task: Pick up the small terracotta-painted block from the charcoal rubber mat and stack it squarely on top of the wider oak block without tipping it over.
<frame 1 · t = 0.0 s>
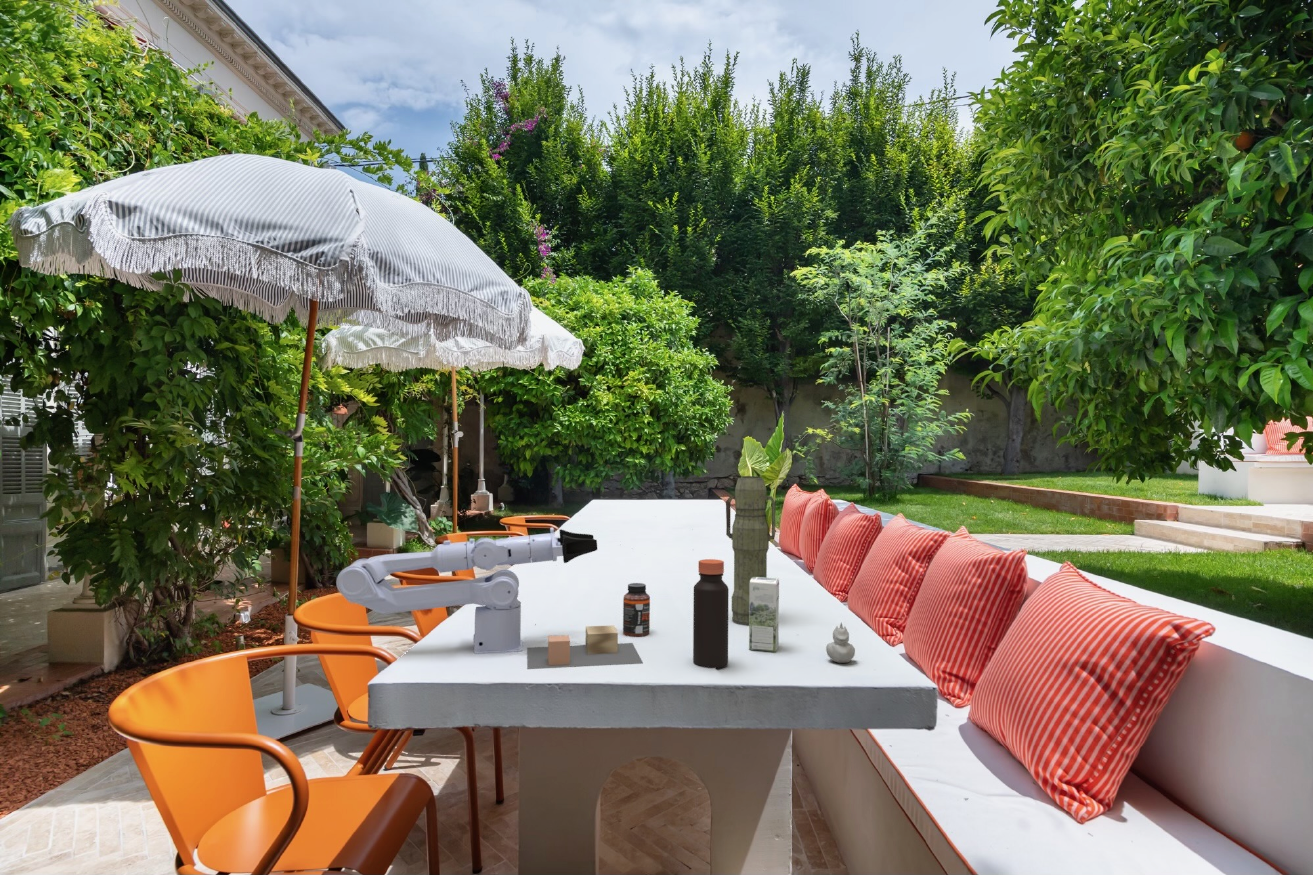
hand: (595, 542, 150), 22 cm above the table, tool horizontal, fingers open, 7 cm apart
supplement bottle: (636, 635, 157), on the table
rubber duck: (840, 662, 139), on the table
terracotta block: (558, 661, 136), resting on mat
mat: (583, 657, 140), on the table
syrup box: (764, 648, 148), on the table
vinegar: (710, 665, 136), on the table
oak block: (601, 649, 145), resting on mat
thermos: (749, 621, 170), on the table
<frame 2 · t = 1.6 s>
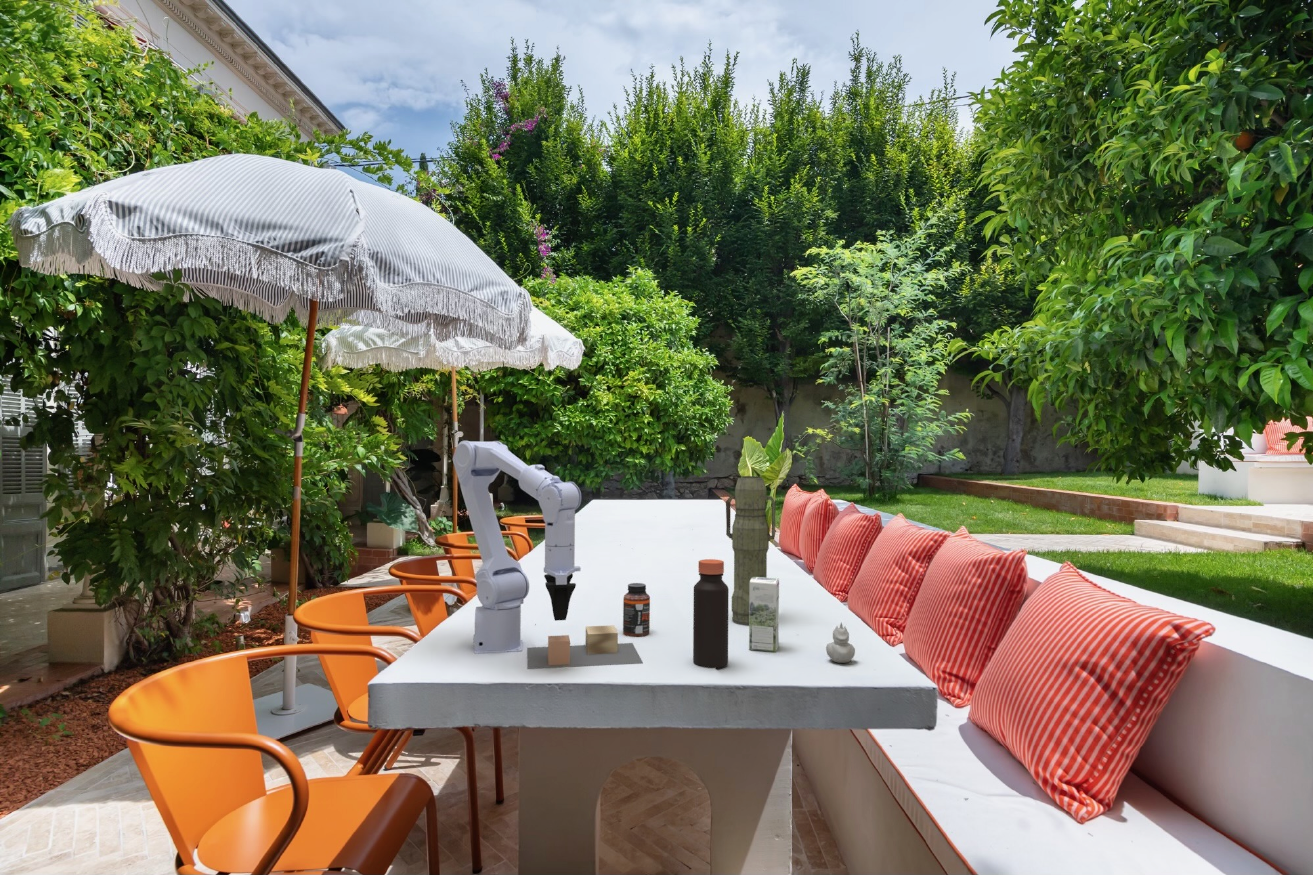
hand: (559, 615, 136), 9 cm above the table, tool pointing down, fingers open, 7 cm apart
nothing on the table moved.
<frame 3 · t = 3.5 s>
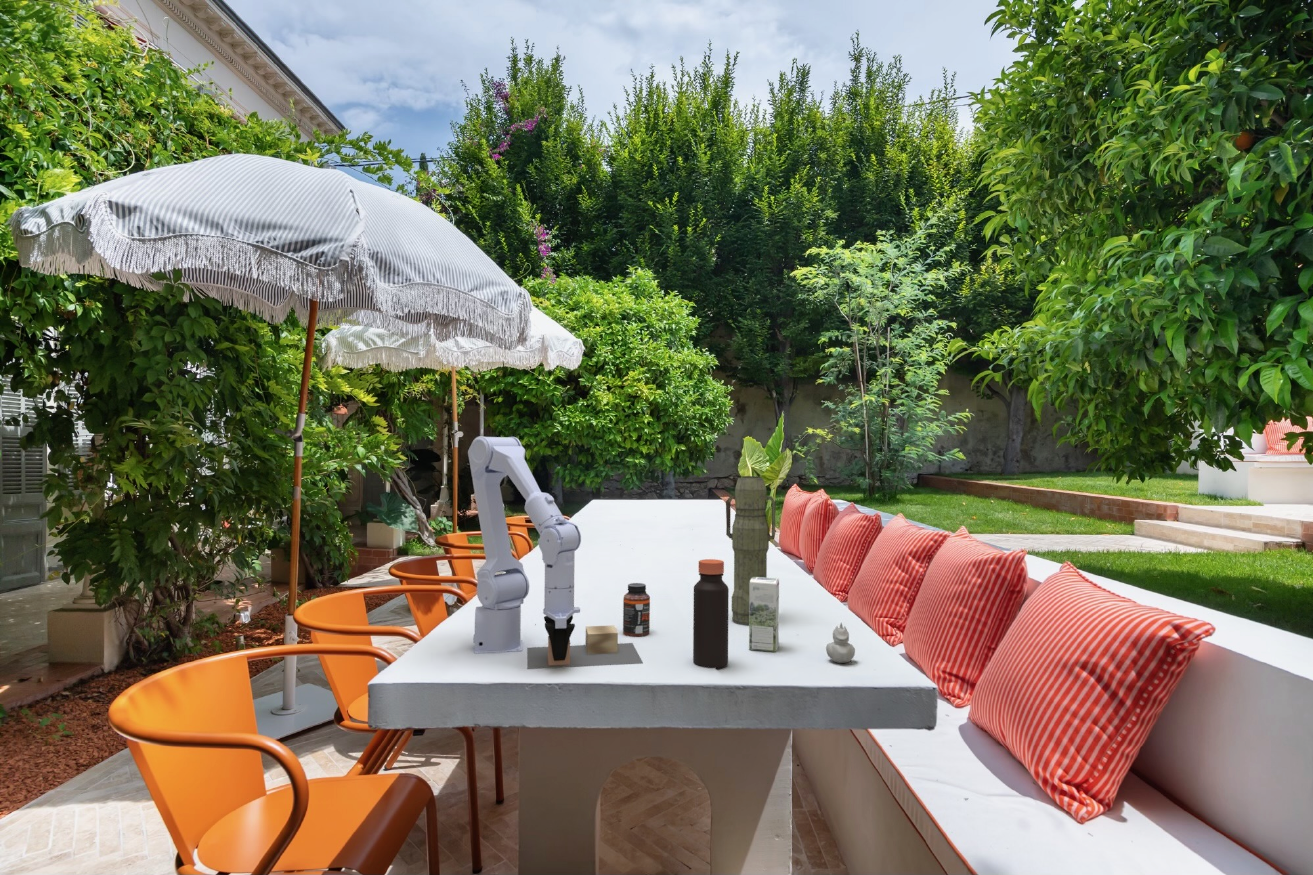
hand: (558, 656, 136), 1 cm above the table, tool pointing down, fingers closed on terracotta block, 4 cm apart
terracotta block: (558, 661, 136), resting on mat, touching gripper
everything else where it was.
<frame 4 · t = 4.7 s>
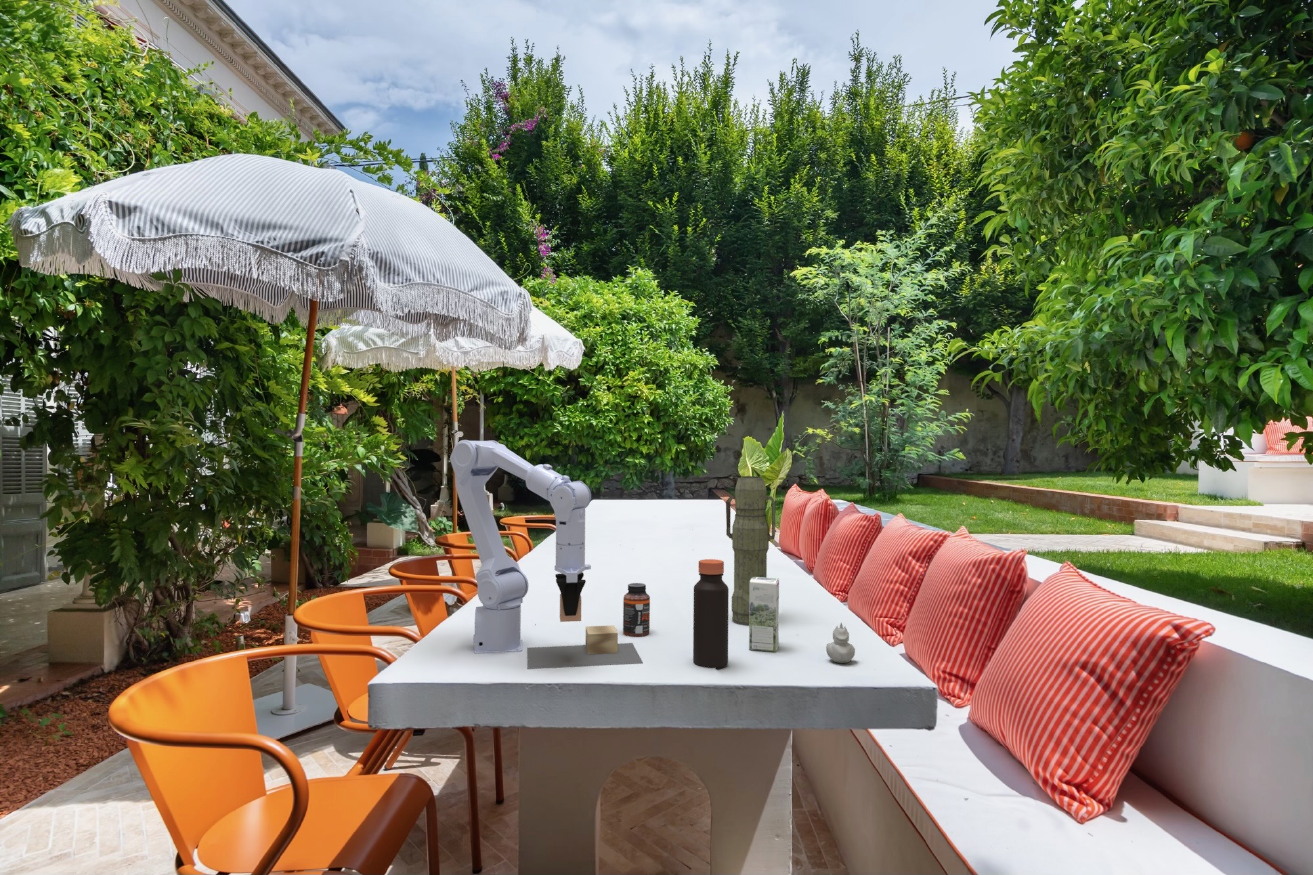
hand: (569, 612, 138), 9 cm above the table, tool pointing down, fingers closed on terracotta block, 4 cm apart
terracotta block: (570, 618, 138), point 8 cm above the table, touching gripper
everything else where it was.
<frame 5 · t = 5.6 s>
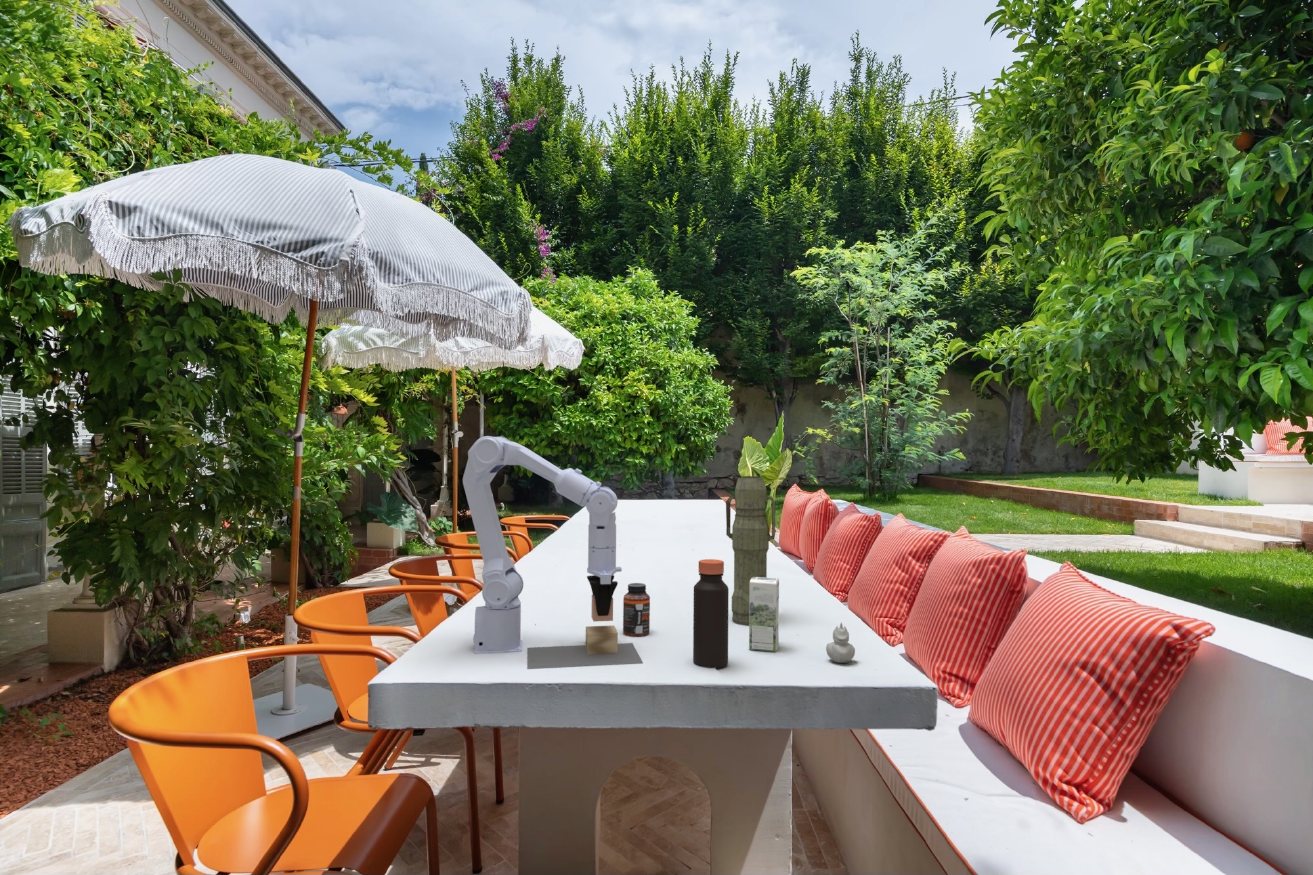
hand: (601, 612, 145), 8 cm above the table, tool pointing down, fingers closed on terracotta block, 4 cm apart
terracotta block: (602, 618, 145), point 7 cm above the table, touching gripper
everything else where it was.
when the fingers open (6 cm above the table, at t = 6.3 s): terracotta block stays where it is, resting on oak block.
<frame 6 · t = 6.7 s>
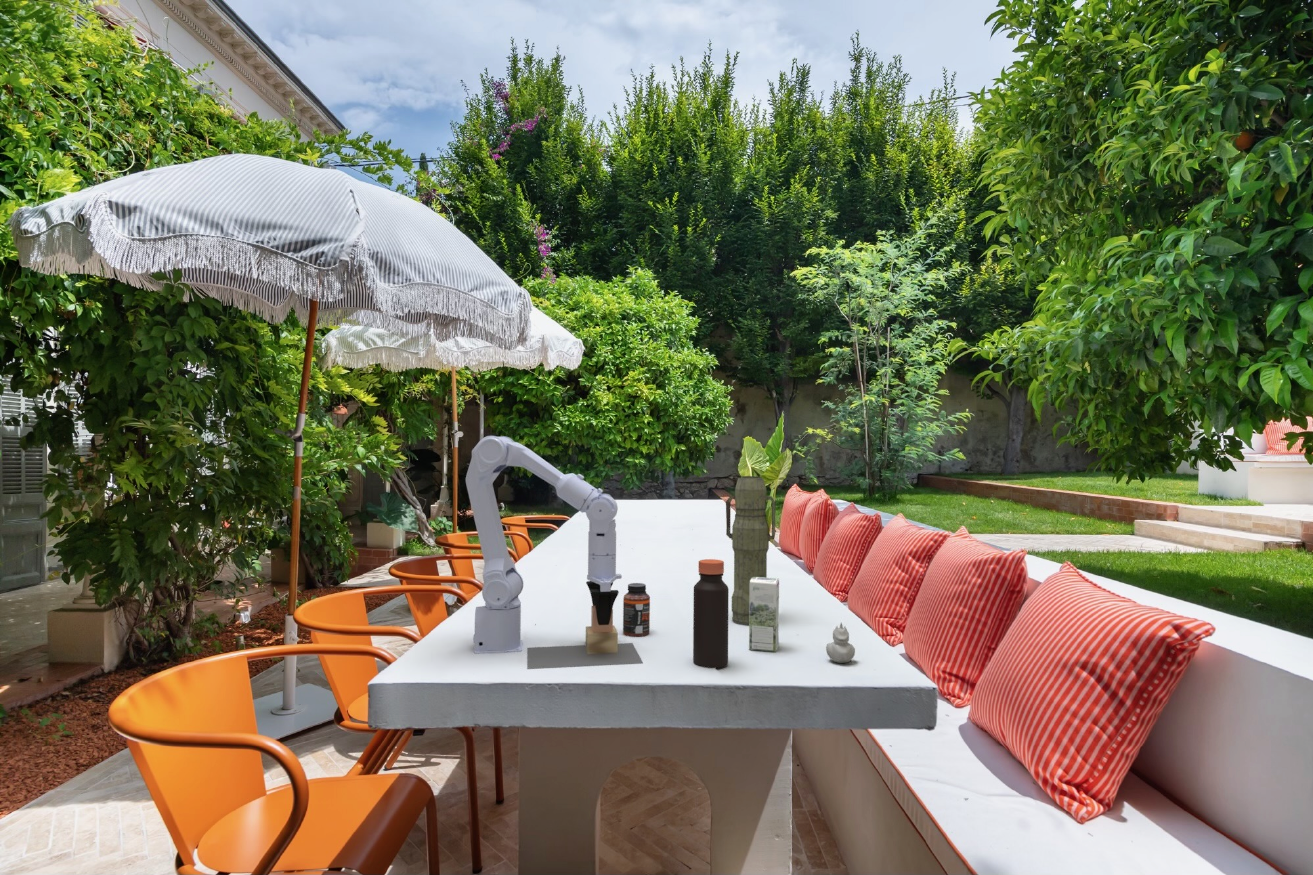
hand: (601, 619, 145), 6 cm above the table, tool pointing down, fingers open, 7 cm apart
terracotta block: (601, 629, 145), point 4 cm above the table, touching oak block
oak block: (601, 649, 145), resting on mat, touching terracotta block
everything else where it was.
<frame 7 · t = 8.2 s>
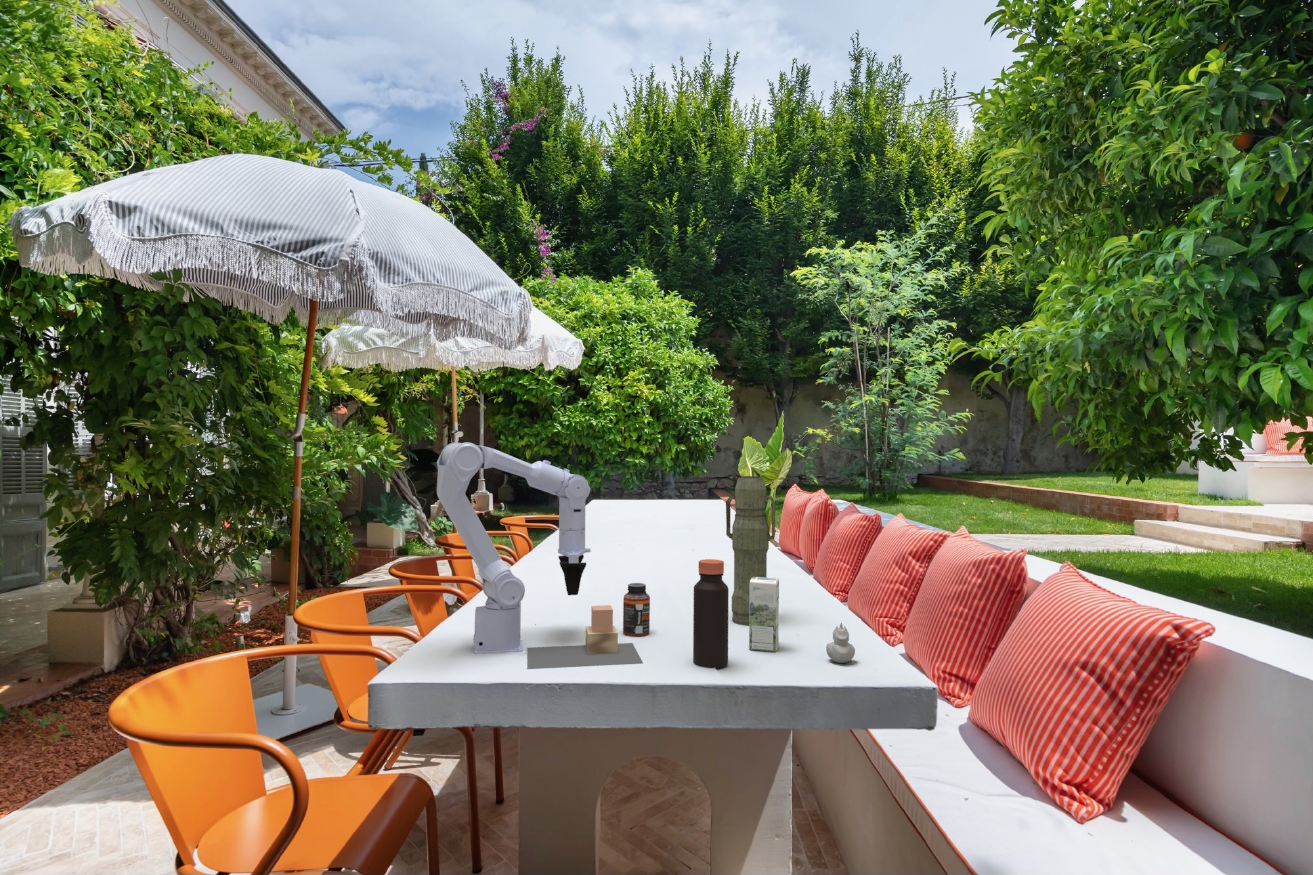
hand: (571, 591, 154), 10 cm above the table, tool pointing down, fingers open, 7 cm apart
nothing on the table moved.
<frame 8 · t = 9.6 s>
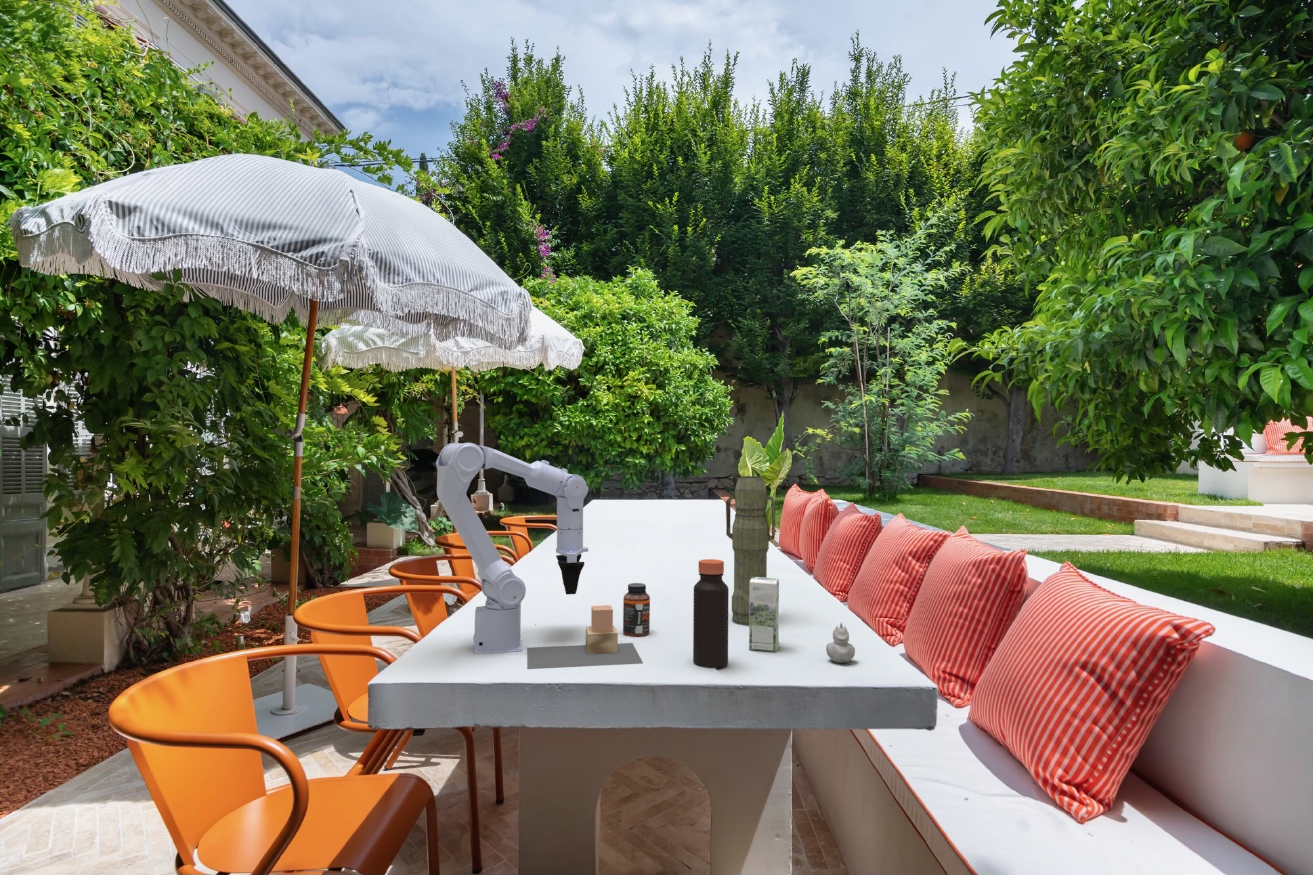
hand: (569, 590, 155), 10 cm above the table, tool pointing down, fingers open, 7 cm apart
nothing on the table moved.
at the end: terracotta block 0.1 cm off-centre on the oak block, point 4.0 cm above the oak block's base; oak block tilted 0°; terracotta block tilted 0° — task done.
